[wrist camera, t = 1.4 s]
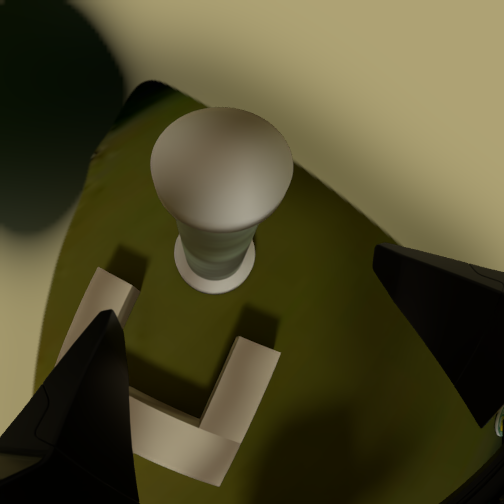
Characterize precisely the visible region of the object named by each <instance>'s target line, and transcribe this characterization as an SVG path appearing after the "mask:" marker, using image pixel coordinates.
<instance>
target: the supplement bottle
mask: <svg viewBox="0 0 504 504" xmlns="http://www.w3.org/2000/svg"><path fill="white" fill-rule="evenodd" d="M503 419H504V406H503V407H502V408H501V409H500V410H499V411H498V414H497V417H496V421H495V430H496V433H497V435H498V436H502V420H503Z"/></svg>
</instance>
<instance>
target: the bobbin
mask: <svg viewBox="0 0 504 504" xmlns="http://www.w3.org/2000/svg"><path fill="white" fill-rule="evenodd" d="M151 173H152V178H153V181H154V185H155V188H156V191H157V194H158V197H159V199H160V201H161V202H162V204H163V206H164V207H165V208H166V209H167V211H168V212H169V213H170V214H171V215H172V216H173V217H175V218H176V222H177V226H178V230H179V236H178V238H177V241H176V244H175V250H174V256H175V262H176V265H177V268H178V270H179V272H180V274H181V276H182V278H183V279H184V280H185V282H186V283H187V284H188V285H190V286H191V287H192V288H194V289H196V290H197V291H200V292H202V293H206V294H223V293H227V292H230V291H232V290H234V289H235V288H237V287H238V286H239V285H241V284H242V283H243V282H244V281H245V279H246V278H247V276H248V275H249V273H250V271H251V269H252V267H253V264H254V259H255V247H254V243H253V240H252V238H253V236H254V234H255V231H256V229H257V226H258V224H259V223H261V222H263V221H264V220H265V219H267V218H268V217H269V216H270V215H271V214H272V213H273V212H274V211H275V210H276V209H277V207H278V206H279V205H280V203H281V201H282V199H283V197H284V195H285V193H286V191H287V189H288V187H289V185H290V182H291V179H292V174H293V159H292V154H291V151H290V148H289V146H288V144H287V142H286V140H285V139H284V137H283V136H282V135H281V133H280V132H279V131H278V130H277V129H276V128H275V127H274V126H273V125H272V124H270V123H269V122H267V121H266V120H265V119H263V118H261V117H259V116H257V115H255V114H253V113H250V112H247V111H244V110H240V109H236V108H228V107H214V108H206V109H201V110H197V111H194V112H191V113H189V114H186V115H184V116H182V117H181V118H179V119H177V120H176V121H174V122H173V123H172V124H171V125H169V126H168V127H167V128H166V129H165V130H164V131H163V133H162V134H161V135H160V137H159V138H158V140H157V142H156V144H155V146H154V148H153V152H152V156H151Z"/></svg>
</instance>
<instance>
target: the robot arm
mask: <svg viewBox="0 0 504 504" xmlns="http://www.w3.org/2000/svg"><path fill="white" fill-rule="evenodd" d="M373 270H374V272H375V274H376V275H377V277H378V278H379V280H380V281H381V283H382V284H383V286H384V287H385V289H386V290H387V292H388V294H389V295H390V297H391V298H392V300H393V301H394V303H395V304H396V305H397V307H398V308H399V309H400V310H401V312H402V313H403V314H404V316H405V317H406V318H407V320H408V321H409V322H410V324H411V325H412V326H413V328H414V329H415V330H416V332H417V333H418V334H419V336H420V337H421V339H422V340H423V341H424V343H425V344H426V345H427V347H428V348H429V350H430V351H431V352H432V354H433V355H434V357H435V358H436V360H437V361H438V362H439V364H440V365H441V367H442V368H443V370H444V371H445V373H446V374H447V376H448V377H449V379H450V380H451V382H452V383H453V385H454V387H455V388H456V390H457V391H458V393H459V394H460V396H461V397H462V399H463V401H464V402H465V404H466V405H467V407H468V409H469V410H470V412H471V414H472V415H473V417H474V419H475V420H476V422H477V424H478V425H479V427H480V428H483V427H484V426H485V425H486V424H487V423H488V422H489V421H490V420H491V419H492V418H493V417H494V416H495V415H496V413H497V412H498V411H499V410H500V409H501V408H502V407H503V406H504V272H501V271H497V270H492V269H488V268H484V267H480V266H477V265H473V264H468V263H465V262H462V261H457V260H454V259H450V258H446V257H442V256H439V255H434V254H431V253H427V252H423V251H419V250H415V249H411V248H406V247H402V246H398V245H394V244H390V243H382V244H378V245H376V247H375V249H374V257H373ZM489 501H490V503H491V504H504V419H503V420H502V446H501V447H500V448H499V449H498V450H497V451H496V453H495V454H494V455H493V456H492V457H491V458H490V459H489V460H488V461H487V462H486V463H485V464H484V465H483V466H482V467H481V468H480V469H479V470H478V471H477V472H476V473H475V474H474V475H472V476H471V477H470V478H469V479H468V480H467V481H466V482H465V483H464V484H462V485H461V486H460V487H459V488H458V489H457V490H455V491H454V492H453V493H452V494H451V495H449V496H448V497H447V498H446V499H444V500H443V501H442V502H441V503H439V504H487V503H488V502H489ZM138 502H139V497H138V490H137V483H136V476H135V468H134V459H133V449H132V438H131V424H130V404H129V376H128V367H127V359H126V350H125V339H124V333H123V329H122V327H121V325H120V323H119V320H118V318H117V316H116V314H115V312H114V310H112V309H108V310H103V311H100V312H99V313H98V315H97V316H96V317H95V318H94V319H93V320H92V322H91V323H90V324H89V325H88V326H87V328H86V329H85V330H84V331H83V332H82V334H81V335H80V336H79V337H78V338H77V340H76V341H75V342H74V343H73V345H72V346H71V347H70V348H69V350H68V351H67V352H66V353H65V355H64V356H63V357H62V358H61V360H60V361H59V362H58V364H57V365H56V366H55V367H54V369H53V370H52V371H51V373H50V374H49V375H48V377H47V378H46V379H45V381H44V382H43V384H42V385H41V386H40V387H39V389H38V390H37V391H36V393H35V394H34V395H33V397H32V398H31V399H30V401H29V402H28V404H27V405H26V406H25V407H24V408H23V410H22V411H21V412H20V413H19V415H18V416H17V417H16V418H15V419H14V421H13V422H12V423H11V424H10V426H9V427H8V428H7V429H6V431H5V432H4V433H3V434H2V435H1V437H0V504H140V503H138Z"/></svg>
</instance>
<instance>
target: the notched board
mask: <svg viewBox="0 0 504 504" xmlns="http://www.w3.org/2000/svg"><path fill="white" fill-rule="evenodd" d="M139 293H140V291H139V290H138V289H136V288H135V287H134V286H133V285H131V284H129V283H127V282H125V281H123V280H121V279H120V278H118V277H116V276H114V275H112V274H110V273H109V272H107V271H105V270H103V269H101V268H100V267H98V268H97V270H96V272H95V274H94V276H93V278H92V280H91V282H90V284H89V286H88V288H87V290H86V293H85V295H84V297H83V299H82V301H81V303H80V306H79V308H78V310H77V312H76V315H75V317H74V319H73V321H72V324H71V326H70V329H69V331H68V333H67V336H66V338H65V341H64V343H63V346H62V348H61V351H60V354H59V356H58V359H57V362H56V365H57V364H58V362H59V361H60V360H61V358H62V357H63V356H64V355H65V353H66V352H67V351H68V350H69V348H70V347H71V346H72V345H73V343H74V342H75V341H76V340H77V338H78V337H79V336H80V335H81V334H82V332H83V331H84V330H85V329H86V328H87V326H88V325H89V324H90V323H91V322H92V320H93V319H94V318H95V317H96V316H97V315H98V313H99V312H100V311H103V310H108V309H112V310H114V312H115V314H116V316H117V318H118V320H119V323H120V325H121V327H122V329H123V328H124V325H125V323H126V321H127V319H128V317H129V315H130V312H131V310H132V308H133V306H134V304H135V302H136V300H137V298H138V295H139ZM280 354H281V353H280V352H277V351H275V350H272V349H270V348H267V347H265V346H262V345H260V344H257V343H255V342H252V341H250V340H248V339H245V338H243V337H240V336H238V337H236V338H235V341H234V343H233V345H232V348H231V350H230V352H229V355H228V357H227V359H226V361H225V364H224V366H223V368H222V371H221V373H220V375H219V377H218V380H217V382H216V384H215V386H214V389H213V391H212V393H211V395H210V398H209V400H208V402H207V404H206V407H205V409H204V411H203V413H202V416H201V418H200V419H199V418H196V417H194V416H192V415H189V414H187V413H185V412H182V411H180V410H178V409H175V408H173V407H171V406H169V405H167V404H165V403H163V402H160V401H158V400H156V399H154V398H152V397H150V396H148V395H146V394H144V393H142V392H140V391H138V390H137V389H135V388H133V387H131V386H129V404H130V424H131V438H132V449H133V452H134V453H136V454H138V455H140V456H142V457H144V458H146V459H148V460H150V461H153V462H155V463H157V464H159V465H162V466H164V467H166V468H169V469H171V470H174V471H176V472H179V473H181V474H184V475H186V476H189V477H192V478H195V479H198V480H200V481H203V482H206V483H209V484H212V485H216V486H220V484H221V482H222V480H223V478H224V476H225V474H226V472H227V471H228V469H229V467H230V465H231V463H232V461H233V459H234V457H235V454H236V452H237V450H238V448H239V446H240V444H241V442H242V440H243V438H244V436H245V434H246V432H247V429H248V427H249V425H250V423H251V421H252V419H253V416H254V414H255V412H256V410H257V408H258V405H259V403H260V401H261V399H262V396H263V394H264V392H265V389H266V387H267V385H268V383H269V380H270V378H271V375H272V373H273V371H274V368H275V366H276V364H277V361H278V359H279V356H280ZM56 365H55V366H56Z"/></svg>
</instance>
